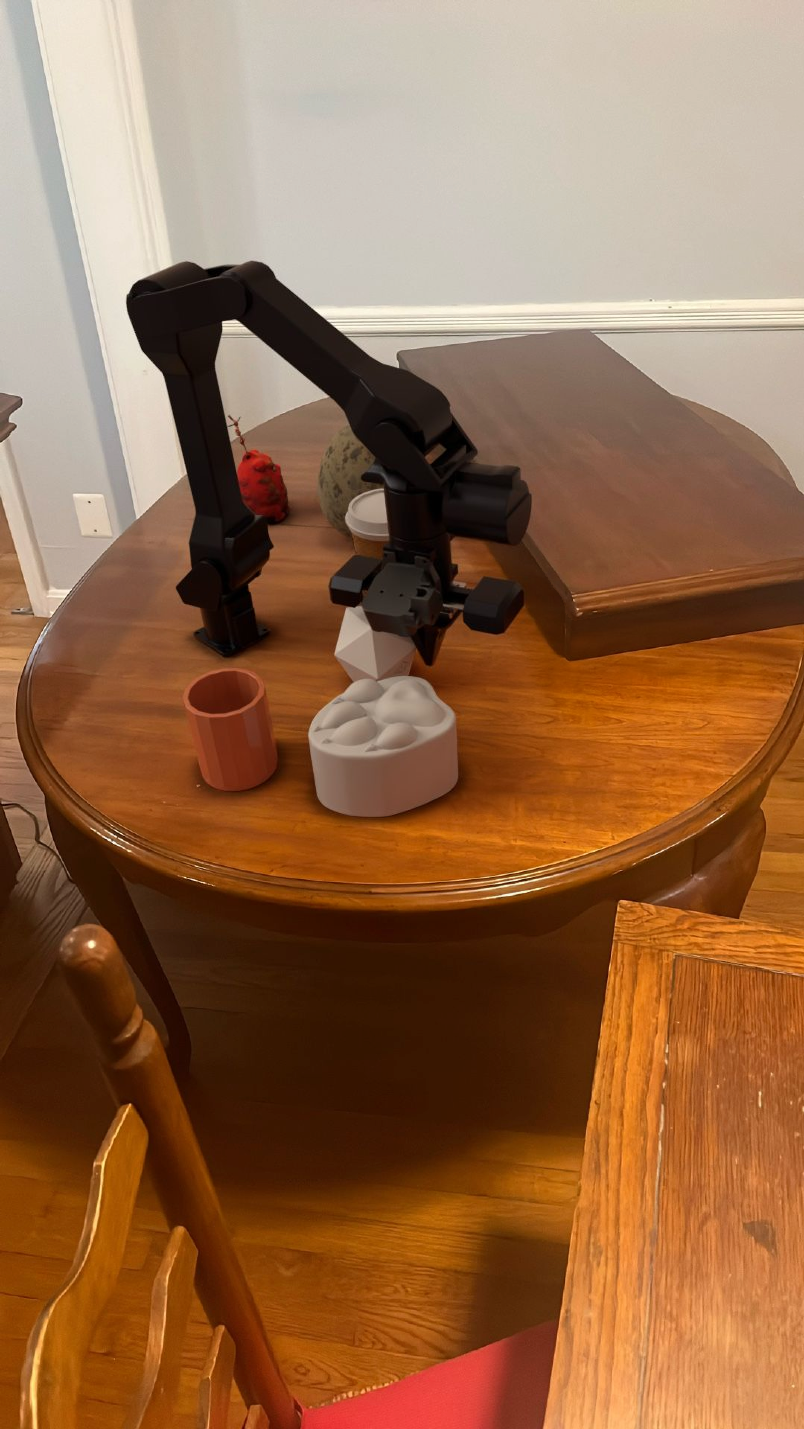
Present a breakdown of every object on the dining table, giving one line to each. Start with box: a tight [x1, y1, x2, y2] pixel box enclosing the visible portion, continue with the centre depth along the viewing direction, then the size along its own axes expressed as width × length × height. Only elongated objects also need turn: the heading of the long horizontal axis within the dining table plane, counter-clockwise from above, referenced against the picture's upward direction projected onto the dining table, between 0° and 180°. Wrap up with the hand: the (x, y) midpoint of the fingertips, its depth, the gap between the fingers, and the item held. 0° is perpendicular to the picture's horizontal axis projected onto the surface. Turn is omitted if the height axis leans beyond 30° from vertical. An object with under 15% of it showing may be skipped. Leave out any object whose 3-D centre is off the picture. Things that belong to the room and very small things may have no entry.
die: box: [334, 605, 417, 683], centre depth 104 cm, size 8×9×10 cm
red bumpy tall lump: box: [227, 414, 290, 524], centre depth 133 cm, size 8×7×15 cm
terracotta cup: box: [182, 667, 279, 792], centre depth 93 cm, size 7×7×9 cm
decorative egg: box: [317, 424, 383, 539], centre depth 126 cm, size 11×11×15 cm
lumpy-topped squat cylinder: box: [308, 675, 459, 818], centre depth 91 cm, size 10×13×9 cm
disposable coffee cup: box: [345, 488, 389, 594], centre depth 115 cm, size 10×10×12 cm
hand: (430, 664), depth 102 cm, fingers closed
